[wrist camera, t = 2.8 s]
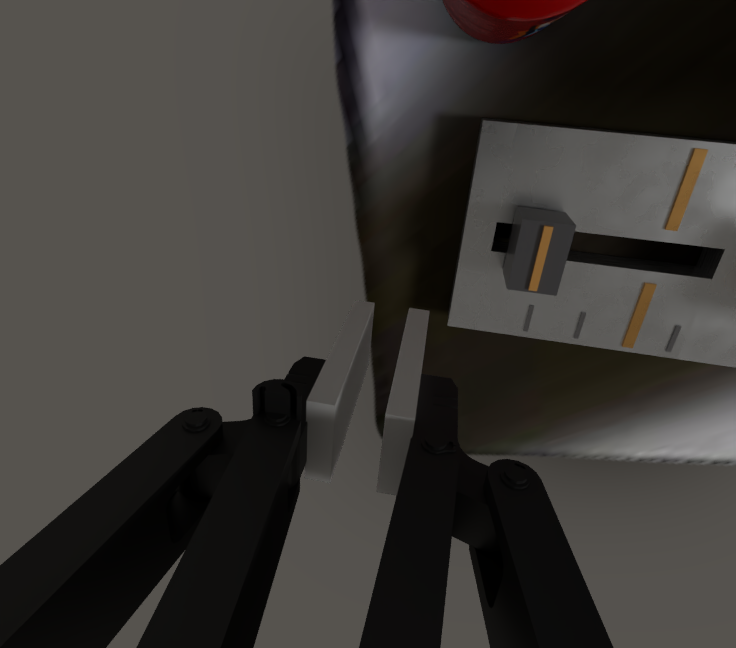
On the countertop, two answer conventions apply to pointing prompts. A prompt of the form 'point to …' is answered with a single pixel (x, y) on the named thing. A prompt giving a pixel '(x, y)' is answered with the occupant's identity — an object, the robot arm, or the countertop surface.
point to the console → (606, 217)
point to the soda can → (507, 17)
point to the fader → (538, 250)
